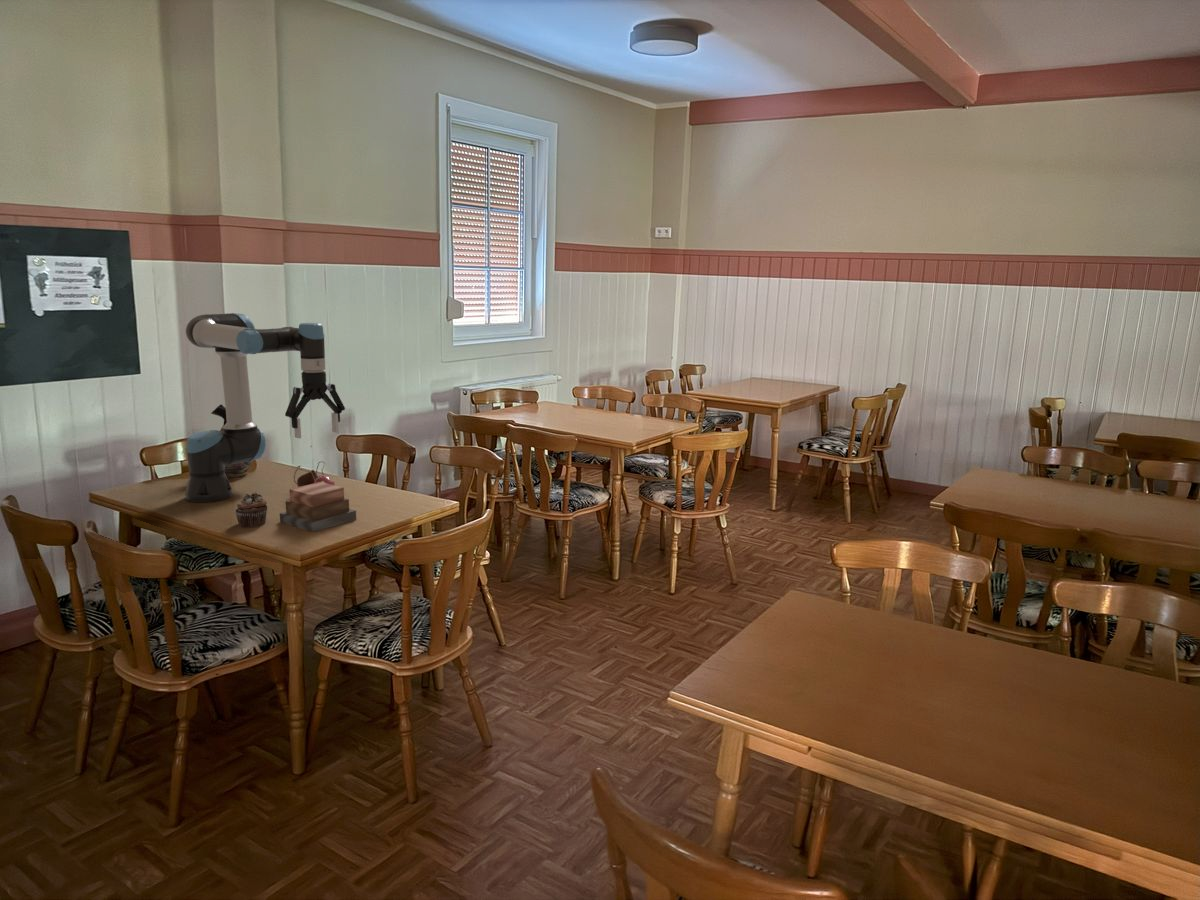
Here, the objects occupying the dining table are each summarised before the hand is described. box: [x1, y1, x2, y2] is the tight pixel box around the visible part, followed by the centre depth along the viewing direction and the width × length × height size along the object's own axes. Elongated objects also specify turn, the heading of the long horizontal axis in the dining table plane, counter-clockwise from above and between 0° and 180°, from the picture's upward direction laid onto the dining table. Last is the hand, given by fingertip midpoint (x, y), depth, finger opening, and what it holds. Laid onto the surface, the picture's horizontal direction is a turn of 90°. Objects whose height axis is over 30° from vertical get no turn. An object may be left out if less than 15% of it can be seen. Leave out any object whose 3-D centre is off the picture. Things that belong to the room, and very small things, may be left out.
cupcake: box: [234, 492, 268, 528], centre depth 266 cm, size 10×10×10 cm
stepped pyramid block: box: [279, 481, 357, 533], centre depth 270 cm, size 17×17×11 cm
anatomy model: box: [293, 460, 336, 487], centre depth 298 cm, size 11×15×17 cm
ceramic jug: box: [210, 404, 254, 478], centre depth 324 cm, size 17×15×30 cm
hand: (317, 434), depth 273 cm, fingers open, 13 cm apart
